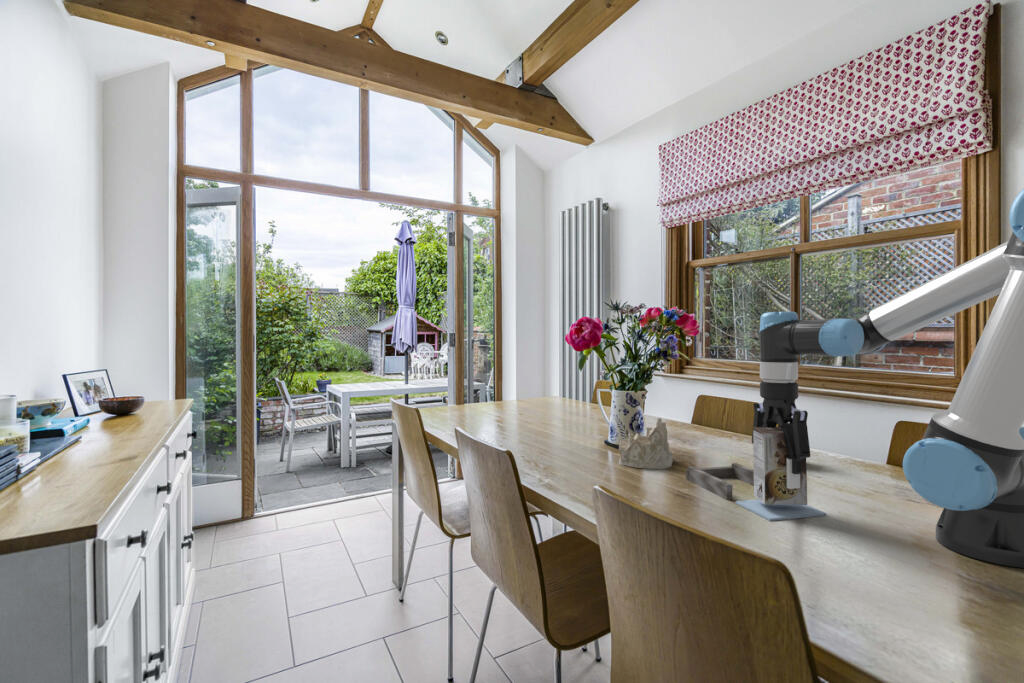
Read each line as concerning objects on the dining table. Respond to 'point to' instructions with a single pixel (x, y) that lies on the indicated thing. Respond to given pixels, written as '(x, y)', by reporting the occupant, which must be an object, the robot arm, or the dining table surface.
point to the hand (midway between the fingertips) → (779, 482)
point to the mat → (779, 510)
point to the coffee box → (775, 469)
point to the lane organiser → (711, 476)
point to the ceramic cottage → (647, 449)
